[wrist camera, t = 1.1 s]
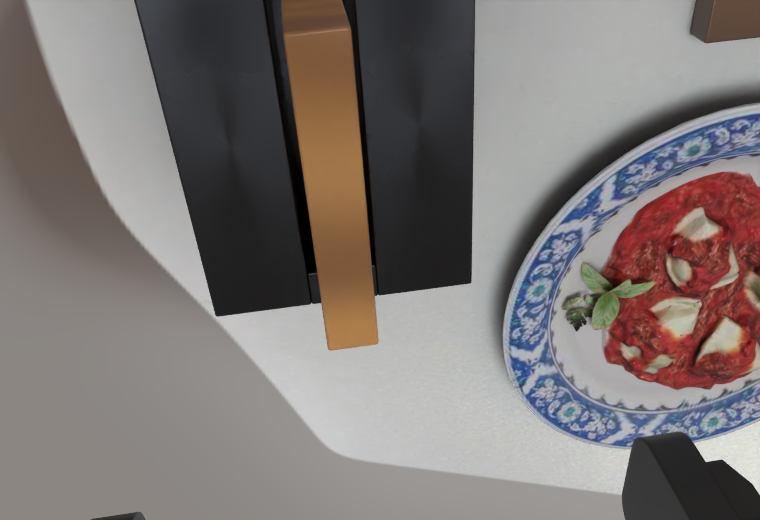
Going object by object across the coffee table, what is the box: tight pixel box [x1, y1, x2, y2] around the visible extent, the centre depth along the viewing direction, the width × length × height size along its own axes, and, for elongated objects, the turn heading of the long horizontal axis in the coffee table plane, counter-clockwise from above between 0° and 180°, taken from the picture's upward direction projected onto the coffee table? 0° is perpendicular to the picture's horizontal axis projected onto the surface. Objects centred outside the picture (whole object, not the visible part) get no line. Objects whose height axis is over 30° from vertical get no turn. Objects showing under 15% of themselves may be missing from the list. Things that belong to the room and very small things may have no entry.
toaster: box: [134, 0, 475, 316], centre depth 28 cm, size 15×10×11 cm, turn 4°
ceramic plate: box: [503, 102, 760, 449], centre depth 43 cm, size 26×26×3 cm
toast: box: [281, 0, 378, 350], centre depth 23 cm, size 10×2×10 cm, turn 4°
